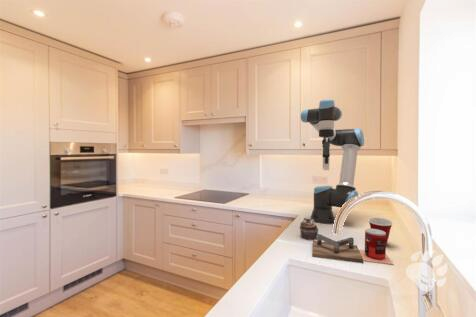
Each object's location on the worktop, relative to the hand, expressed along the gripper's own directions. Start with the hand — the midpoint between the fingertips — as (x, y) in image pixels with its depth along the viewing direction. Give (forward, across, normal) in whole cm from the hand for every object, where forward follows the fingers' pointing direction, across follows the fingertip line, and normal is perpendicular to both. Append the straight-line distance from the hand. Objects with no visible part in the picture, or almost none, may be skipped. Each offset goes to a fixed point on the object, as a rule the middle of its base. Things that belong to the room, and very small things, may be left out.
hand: (325, 169), depth 129 cm
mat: (+37, +19, +20) cm, 46 cm away
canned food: (+36, +19, +20) cm, 46 cm away
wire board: (+37, +19, +4) cm, 42 cm away
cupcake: (+37, +2, -8) cm, 38 cm away
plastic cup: (+37, +1, +26) cm, 45 cm away
